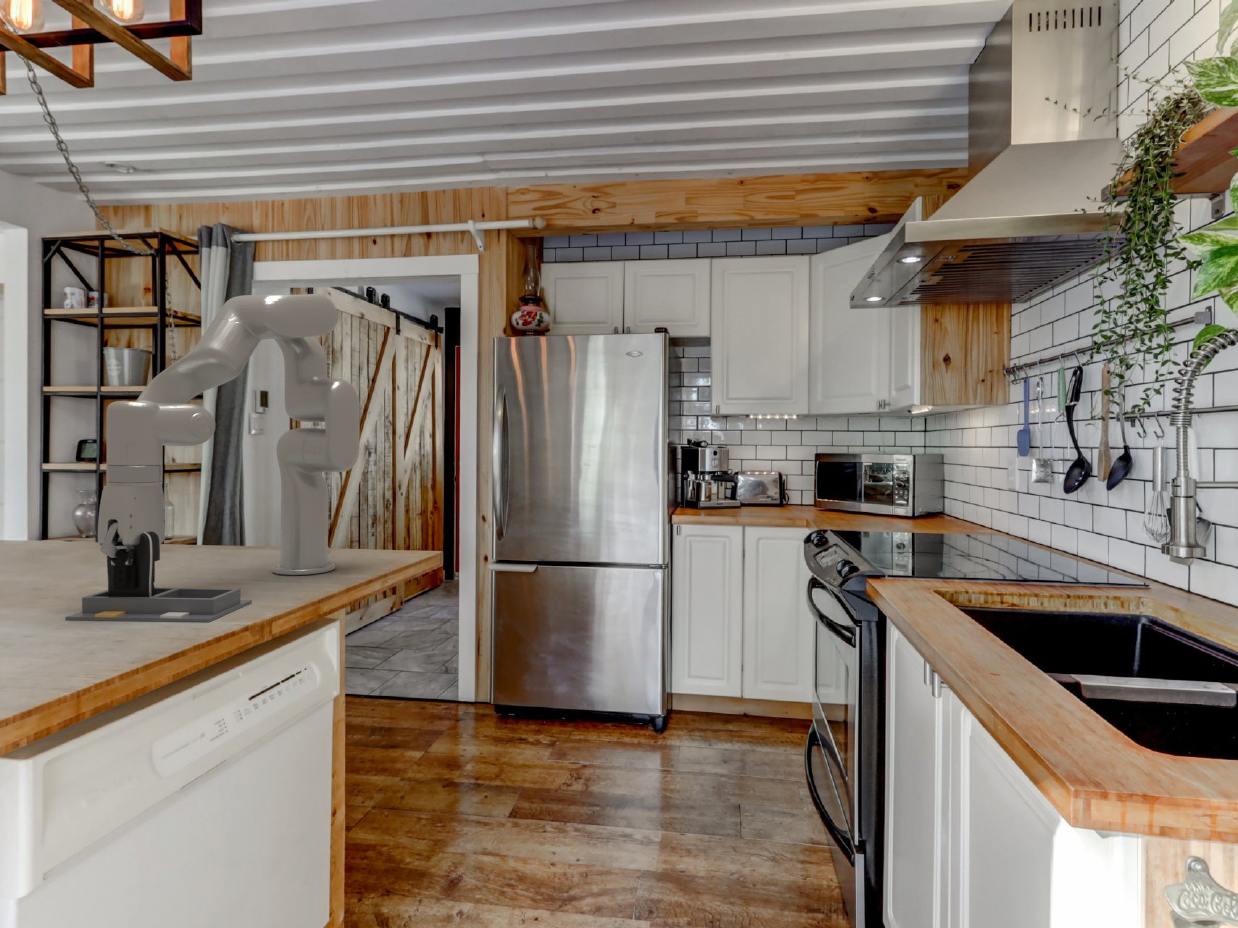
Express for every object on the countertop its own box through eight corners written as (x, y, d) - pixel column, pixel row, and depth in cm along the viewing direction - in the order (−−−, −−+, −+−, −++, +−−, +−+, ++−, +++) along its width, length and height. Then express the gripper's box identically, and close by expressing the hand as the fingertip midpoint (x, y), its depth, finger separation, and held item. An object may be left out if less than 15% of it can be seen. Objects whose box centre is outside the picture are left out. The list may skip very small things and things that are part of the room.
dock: (124, 600, 117) (124, 583, 117) (251, 602, 118) (251, 585, 118) (65, 620, 104) (65, 601, 104) (209, 622, 105) (209, 603, 105)
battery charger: (163, 596, 113) (163, 529, 112) (147, 601, 109) (147, 532, 108) (123, 595, 113) (122, 528, 112) (105, 600, 109) (105, 531, 109)
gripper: (145, 473, 118) (145, 576, 119) (72, 478, 102) (72, 597, 102) (188, 474, 119) (188, 576, 119) (122, 479, 102) (122, 598, 102)
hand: (134, 585), depth 111 cm, fingers closed on battery charger, 3 cm apart
